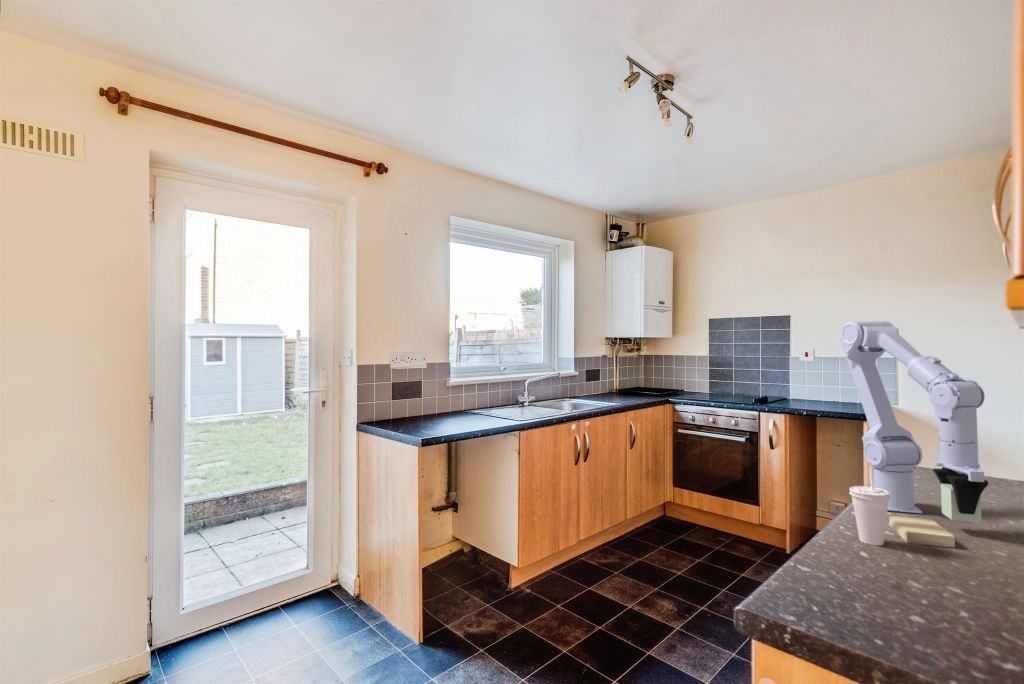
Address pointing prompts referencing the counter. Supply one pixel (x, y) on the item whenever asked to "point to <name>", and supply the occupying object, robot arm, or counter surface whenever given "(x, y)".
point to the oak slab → (921, 531)
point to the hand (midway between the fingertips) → (960, 509)
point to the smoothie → (870, 511)
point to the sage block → (951, 506)
